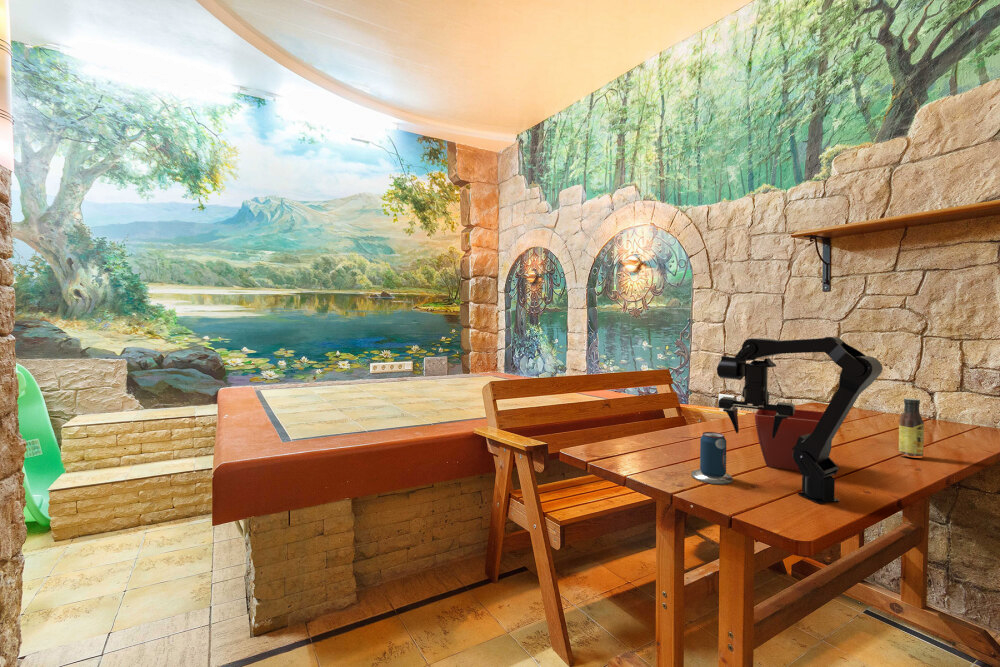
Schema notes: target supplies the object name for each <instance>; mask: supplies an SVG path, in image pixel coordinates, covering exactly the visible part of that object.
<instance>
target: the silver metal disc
mask: <svg viewBox="0 0 1000 667" xmlns="http://www.w3.org/2000/svg"><path fill="white" fill-rule="evenodd" d="M690 476H691V478H692V477H693V478H692V479H694V478H695V479H697V480H696V481H698V480H699V481H698V482H700V481H702V482H701V483H704V482H705V483H704V484H708V483H709V485H716V484H717V485H719V486H720V485H722V484H723V486H725V484H726V485H729V484H732V483H733V482H734V480H733V479H734V477H733V476H732V475H730V474H729V473H727V472H726V473H725V475H724V476H723V477H722V478H712V477H707V476H705V475H703V474H702V472H701V470H700V468H699V469H694V470H692V471H691V472H690ZM695 479H694V480H695ZM717 485H716V486H717Z"/></svg>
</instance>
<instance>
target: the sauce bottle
mask: <svg viewBox="0 0 1000 667" xmlns="http://www.w3.org/2000/svg"><path fill="white" fill-rule="evenodd" d="M903 403H904V407H903V408H904V409H903V410H904V411H903V413H902V414H900V417H899V425H898V453H899V452H900V453H902V454H905V455H909V456H924V439H925V438H924V437H925V423H924V420H923V418H922V416H921V413H920V404H921V400H920V399H919V398H904V399H903Z"/></svg>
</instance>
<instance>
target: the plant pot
mask: <svg viewBox="0 0 1000 667" xmlns="http://www.w3.org/2000/svg"><path fill="white" fill-rule="evenodd" d="M824 412H825V411H818V410H817V411H815V410H808V409H807V410H806V409H796V408H795V414H794V415H793V416H789V417H788V418H787V419H785V418H783V420H782V422H781V423H780V426H779V428H778V431H777V433H776V436H775V438H774V439H773V438H772V432H773V425H774V417H775V415H776V414H777V413H776V411H769V410H760V409H756V412H755V413H754V421H755V428H756V434H757V438H758V443H759V446H760V450H761V453H762V456H763V460H764V463H765V465H766V466H767V467H769V468H770V467H772V468H777V469H783V470H790V471H797V472H800V470H799V467H798V465H797V464H796V463H795V461H794V459H793V457H792V455H793V451H794V450H792V448H793V447H794V446H795V445H796V443H797V440H798V438H799V437H800V436H803V435H807V434H812V432H813V431H814V429H815V427H816V426H817V424H818V422H819V420H820V419H821V417H822V415H823V413H824Z"/></svg>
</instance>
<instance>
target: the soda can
mask: <svg viewBox="0 0 1000 667" xmlns="http://www.w3.org/2000/svg"><path fill="white" fill-rule="evenodd" d="M699 440H700V444H699V446H700V448H699V469H700V470H701V472H702V474H703V475H705V476H707V477H712V478H722V477H723V476H724V475H725V473H727V439H726V438H725V435H724V434H723V433H720V432H716V431H705V432H702V435H701V436H700V439H699Z"/></svg>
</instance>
